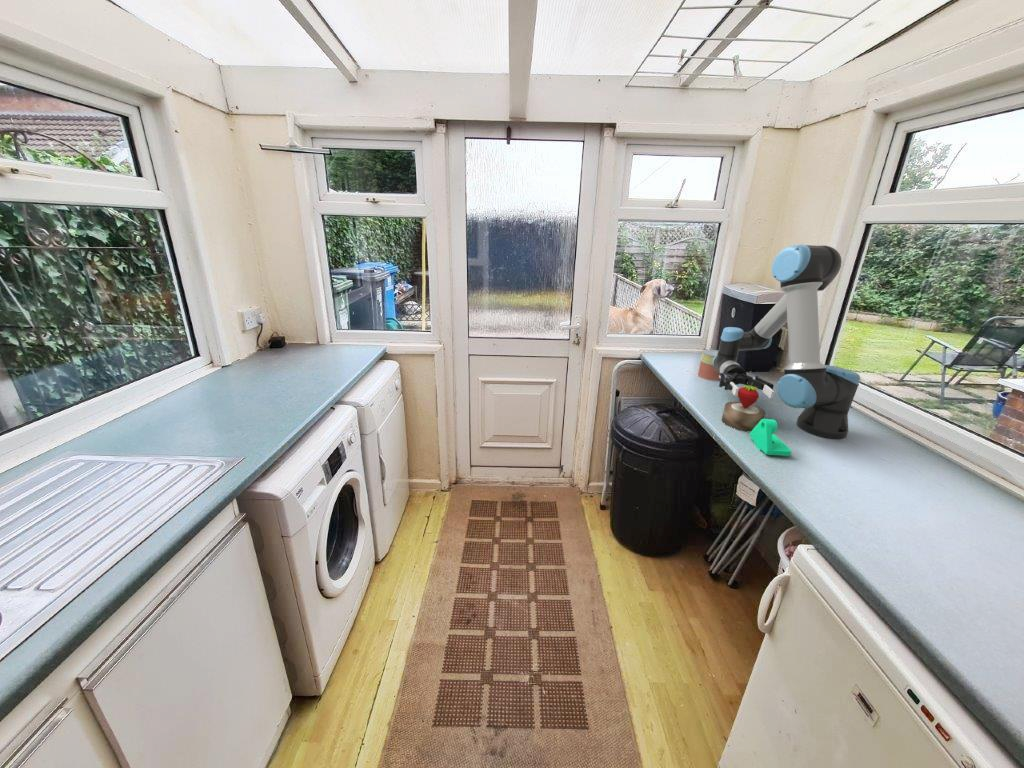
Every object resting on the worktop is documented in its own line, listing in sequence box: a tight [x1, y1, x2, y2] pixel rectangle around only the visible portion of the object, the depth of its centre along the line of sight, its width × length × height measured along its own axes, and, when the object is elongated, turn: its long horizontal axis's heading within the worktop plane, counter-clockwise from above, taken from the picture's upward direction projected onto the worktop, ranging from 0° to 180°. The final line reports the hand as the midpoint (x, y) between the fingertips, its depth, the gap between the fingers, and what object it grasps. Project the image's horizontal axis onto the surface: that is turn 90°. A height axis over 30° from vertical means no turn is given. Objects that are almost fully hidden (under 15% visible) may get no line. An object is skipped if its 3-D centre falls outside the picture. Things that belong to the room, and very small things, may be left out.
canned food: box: [697, 349, 720, 382], centre depth 198 cm, size 11×11×12 cm
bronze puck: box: [721, 400, 766, 432], centre depth 152 cm, size 13×13×6 cm
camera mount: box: [749, 418, 792, 457], centre depth 134 cm, size 12×8×10 cm, turn 175°
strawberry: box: [737, 382, 760, 408], centre depth 149 cm, size 6×8×10 cm
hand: (754, 393), depth 144 cm, fingers open, 11 cm apart
